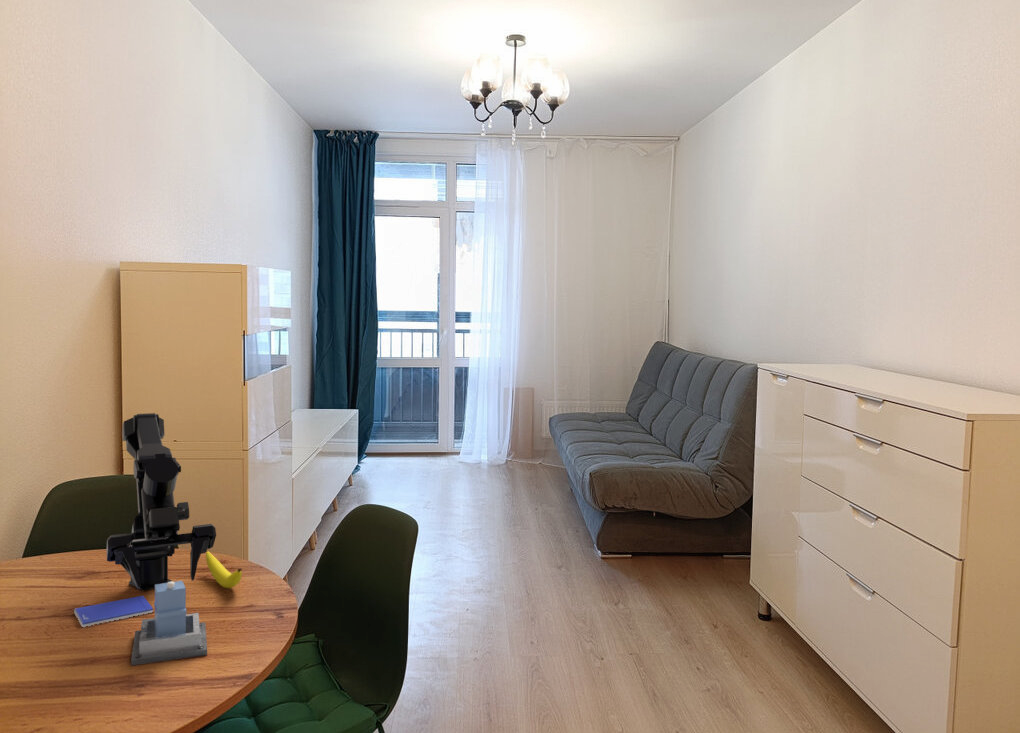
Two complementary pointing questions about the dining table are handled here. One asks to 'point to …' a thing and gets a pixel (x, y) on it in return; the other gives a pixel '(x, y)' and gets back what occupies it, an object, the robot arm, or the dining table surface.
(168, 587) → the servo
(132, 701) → the dining table surface
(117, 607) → the hard drive
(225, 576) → the banana
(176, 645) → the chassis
